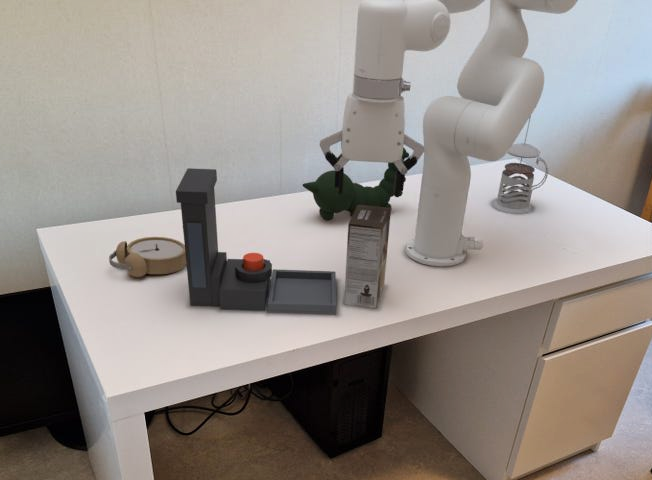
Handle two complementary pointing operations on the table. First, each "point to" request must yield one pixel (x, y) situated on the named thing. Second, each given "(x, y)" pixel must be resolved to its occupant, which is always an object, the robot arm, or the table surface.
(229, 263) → the button base
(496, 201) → the french press
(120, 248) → the alarm clock
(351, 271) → the coffee box
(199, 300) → the coffee machine tank
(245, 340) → the table surface
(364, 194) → the toy figurine
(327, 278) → the pan
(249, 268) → the brew button
